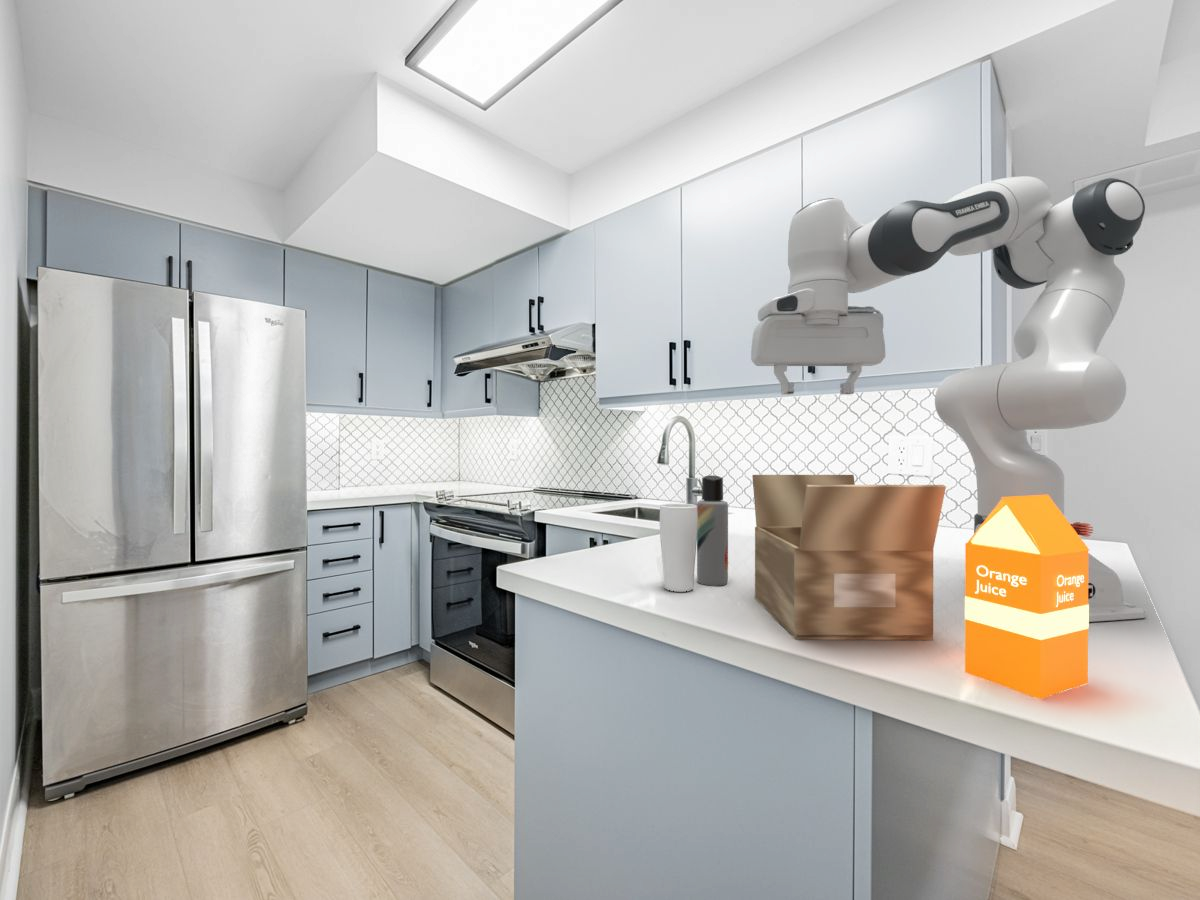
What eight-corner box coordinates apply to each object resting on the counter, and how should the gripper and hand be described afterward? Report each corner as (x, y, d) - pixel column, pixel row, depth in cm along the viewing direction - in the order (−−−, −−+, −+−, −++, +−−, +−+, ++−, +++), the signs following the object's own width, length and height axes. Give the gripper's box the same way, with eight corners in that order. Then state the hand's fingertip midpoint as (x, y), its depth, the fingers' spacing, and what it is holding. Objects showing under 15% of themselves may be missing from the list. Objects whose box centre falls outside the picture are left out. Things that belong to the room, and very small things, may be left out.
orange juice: (963, 671, 63) (963, 494, 63) (1011, 659, 66) (1011, 492, 66) (1042, 700, 56) (1042, 500, 55) (1090, 684, 59) (1091, 497, 59)
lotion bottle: (725, 579, 107) (725, 475, 107) (729, 586, 101) (729, 476, 101) (696, 578, 107) (696, 475, 107) (698, 585, 102) (698, 476, 102)
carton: (862, 598, 93) (862, 526, 93) (933, 640, 73) (933, 548, 73) (754, 598, 93) (754, 526, 93) (796, 639, 73) (796, 548, 73)
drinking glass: (674, 582, 104) (674, 502, 104) (705, 589, 99) (705, 505, 99) (651, 589, 99) (651, 505, 99) (683, 596, 94) (683, 508, 94)
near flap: (943, 484, 70) (946, 486, 70) (930, 548, 73) (932, 550, 72) (806, 484, 70) (808, 486, 70) (798, 548, 73) (800, 550, 72)
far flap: (860, 526, 93) (858, 527, 93) (853, 474, 95) (852, 475, 96) (757, 526, 93) (756, 527, 94) (753, 474, 96) (752, 475, 96)
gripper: (872, 311, 91) (872, 396, 91) (748, 311, 91) (748, 396, 91) (893, 301, 84) (893, 392, 84) (759, 301, 84) (759, 392, 84)
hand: (817, 394), depth 88 cm, fingers open, 8 cm apart
